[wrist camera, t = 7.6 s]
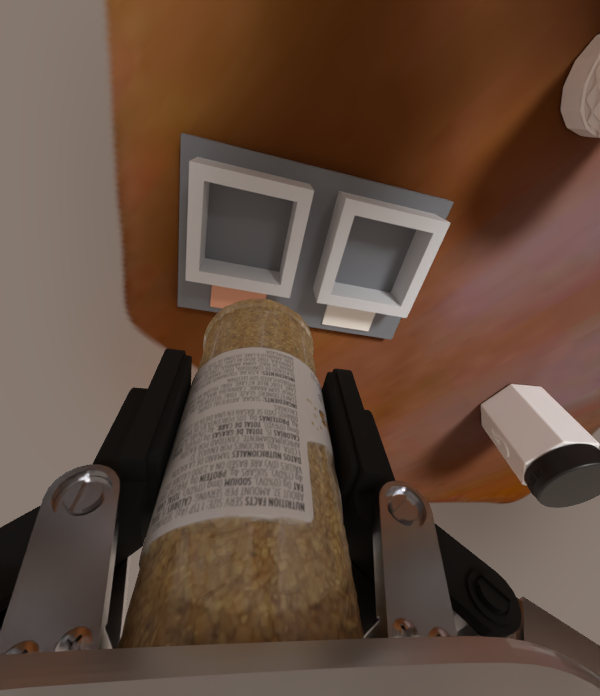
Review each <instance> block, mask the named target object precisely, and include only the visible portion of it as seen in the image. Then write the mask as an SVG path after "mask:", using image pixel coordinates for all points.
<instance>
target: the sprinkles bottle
mask: <svg viewBox="0 0 600 696" xmlns="http://www.w3.org/2000/svg"><path fill="white" fill-rule="evenodd" d="M203 349H204V352H203V355H202V359H201V362H200V365H199V368H198V372H197V373H196V375H195V377H194V379H193V382H192V385H191V387H190V391H189V394H188V397H187V401H186V404H185V407H184V410H183V414H182V417H181V420H180V423H179V427H178V430H177V433H176V437H175V440H174V444H173V447H172V450H171V453H170V457H169V460H168V463H167V466H166V470H165V473H164V477H163V480H162V483H161V487H160V490H159V494H158V497H157V501H156V504H155V507H154V511H153V514H152V518H151V521H150V524H149V528H148V531H147V535H146V538H145V541H144V545H143V548H142V552H141V555H140V562H139V566H140V571H139V574H138V577H137V581H136V584H135V588H134V591H133V595H132V598H131V601H130V605H129V608H128V612H127V615H126V619H125V623H124V627H123V632H122V637H121V639H120V642H119V644H118V647H117V649H119V648H142V647H165V646H188V645H212V644H237V643H263V642H289V641H315V640H343V639H364V632H363V629H362V624H361V619H360V612H359V606H358V603H357V592H356V588H355V584H354V580H353V575H352V567H351V560H350V556H349V549H348V542H347V538H346V531H345V527H344V524H343V509H342V501H341V493H340V488H339V483H338V479H337V475H336V469H335V462H334V455H333V449H332V444H331V439H330V434H329V428H328V423H327V417H326V412H325V407H324V402H323V396H322V391H321V387H320V384H319V381H318V379H317V376H316V371H315V367H314V359H313V340H312V335H311V332H310V330H309V327H308V325H307V324H306V323H305V321H304V320H303V319H302V318H301V316H300V315H299V314H298V313H296V312H294V311H293V310H291V309H290V308H289V307H286V306H284V305H283V304H281V303H278V302H275V301H272V300H269V299H249V300H243V301H238V302H235V303H233V304H231V305H229V306H226V307H224V308H223V309H222V310H221V311H220V312H218V313H217V314H216V315H215V316H214V317H213V319H212V320H211V322H210V323H209V325H208V327H207V329H206V331H205V334H204V340H203Z"/></svg>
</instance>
